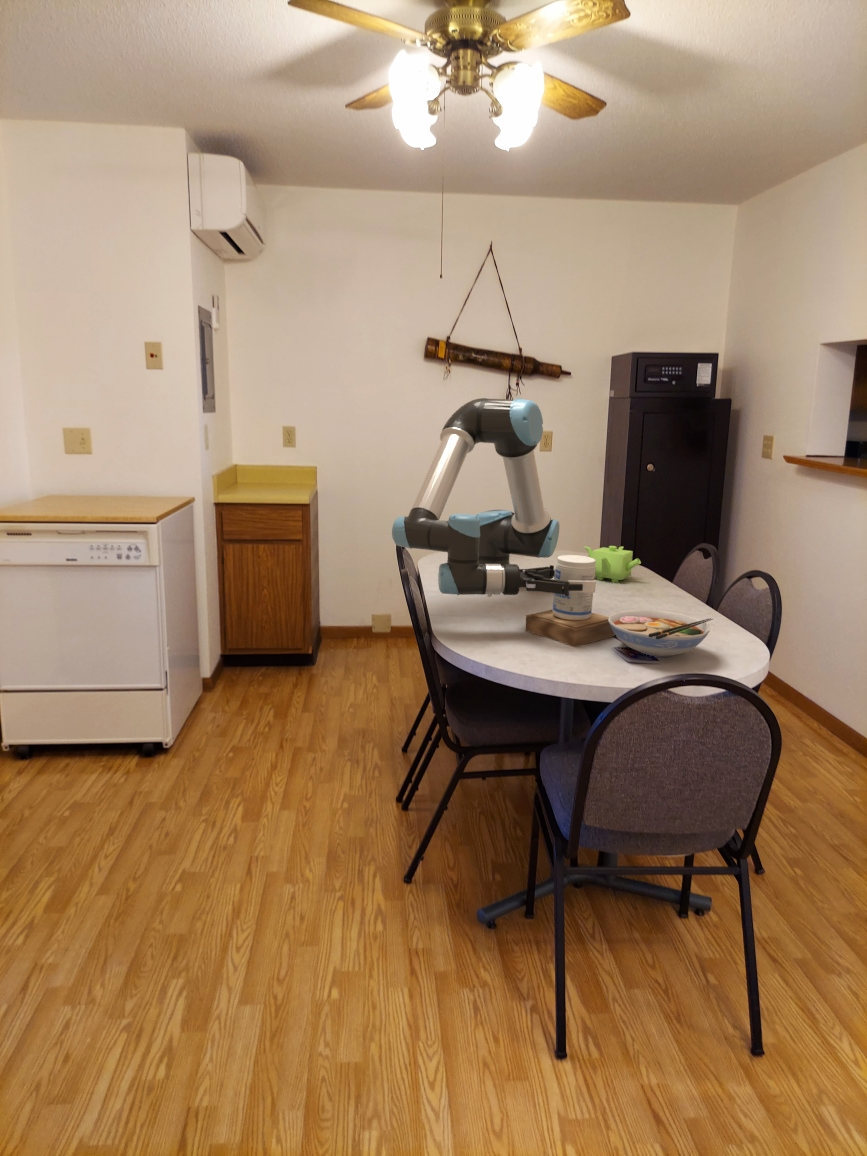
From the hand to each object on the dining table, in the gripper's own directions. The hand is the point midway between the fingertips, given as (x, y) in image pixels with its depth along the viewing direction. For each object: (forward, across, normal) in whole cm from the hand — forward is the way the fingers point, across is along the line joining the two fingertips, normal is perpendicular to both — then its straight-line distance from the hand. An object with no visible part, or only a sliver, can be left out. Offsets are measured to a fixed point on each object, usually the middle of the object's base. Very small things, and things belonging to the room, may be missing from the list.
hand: (587, 580), depth 190 cm
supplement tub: (-3, 0, -9) cm, 10 cm away
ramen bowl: (+13, +16, -14) cm, 25 cm away
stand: (-3, 0, -14) cm, 14 cm away
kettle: (+26, -62, -14) cm, 69 cm away
